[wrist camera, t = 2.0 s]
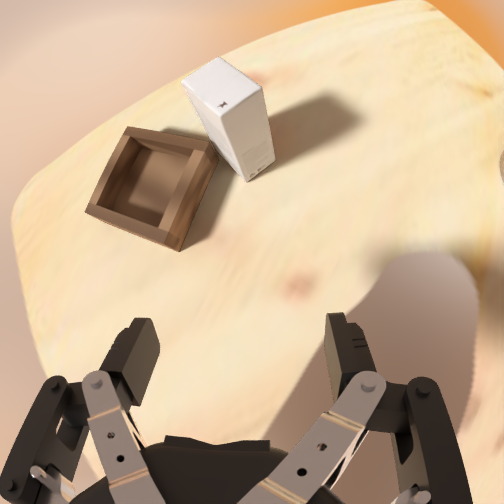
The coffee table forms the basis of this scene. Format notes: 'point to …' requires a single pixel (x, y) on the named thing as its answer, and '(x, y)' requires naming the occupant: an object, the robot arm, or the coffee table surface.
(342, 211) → the coffee table surface
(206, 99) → the skincare box
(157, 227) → the box
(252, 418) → the coffee table surface
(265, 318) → the coffee table surface
